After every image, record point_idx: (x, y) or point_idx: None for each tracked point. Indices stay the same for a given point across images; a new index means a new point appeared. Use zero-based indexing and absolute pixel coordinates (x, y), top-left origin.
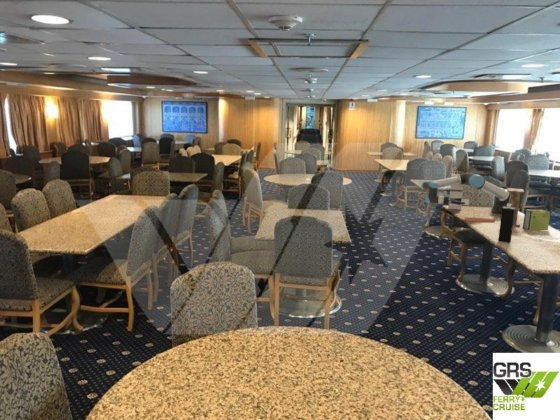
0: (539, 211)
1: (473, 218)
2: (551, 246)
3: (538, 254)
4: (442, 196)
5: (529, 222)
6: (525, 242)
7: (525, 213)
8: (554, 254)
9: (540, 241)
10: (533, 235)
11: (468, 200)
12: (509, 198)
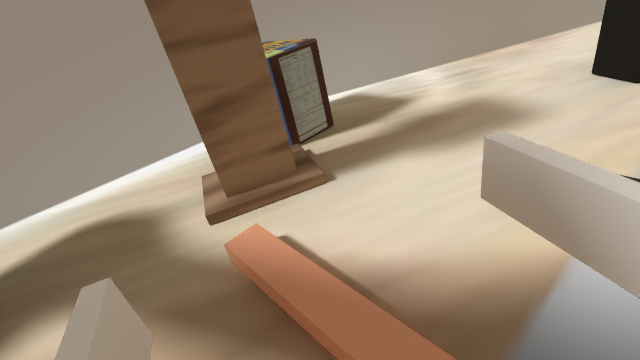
0: (279, 43)
1: (388, 319)
2: (496, 53)
3: None
4: None
5: (323, 94)
6: (547, 65)
7: (280, 75)
8: (569, 30)
9: (473, 69)
10: (410, 96)
11: (122, 317)
12: (163, 37)
